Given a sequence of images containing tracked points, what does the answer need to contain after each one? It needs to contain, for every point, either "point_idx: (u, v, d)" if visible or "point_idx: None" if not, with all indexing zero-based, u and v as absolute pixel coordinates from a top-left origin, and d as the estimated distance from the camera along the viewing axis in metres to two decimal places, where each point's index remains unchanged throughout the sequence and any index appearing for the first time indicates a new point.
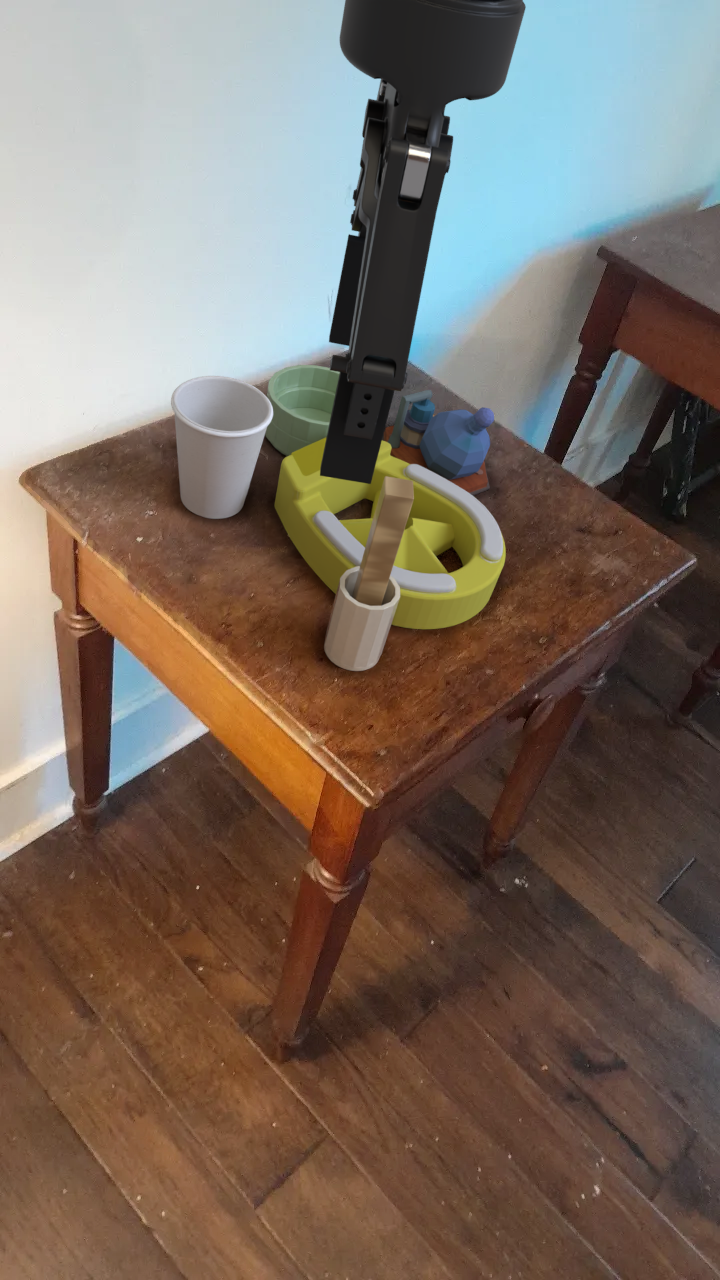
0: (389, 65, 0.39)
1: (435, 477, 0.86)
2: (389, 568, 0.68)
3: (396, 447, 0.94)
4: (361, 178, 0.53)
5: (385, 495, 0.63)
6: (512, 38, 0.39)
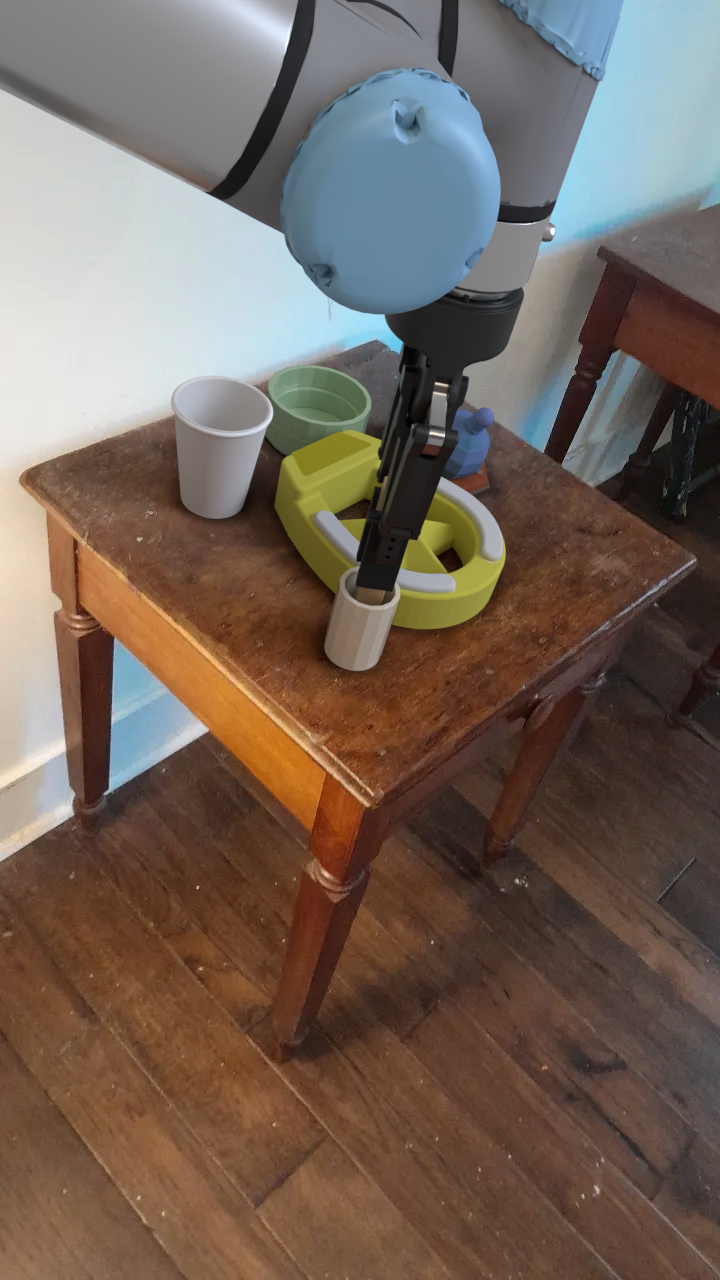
0: (423, 343, 0.52)
1: None
2: None
3: None
4: (387, 430, 0.65)
5: None
6: (514, 319, 0.53)
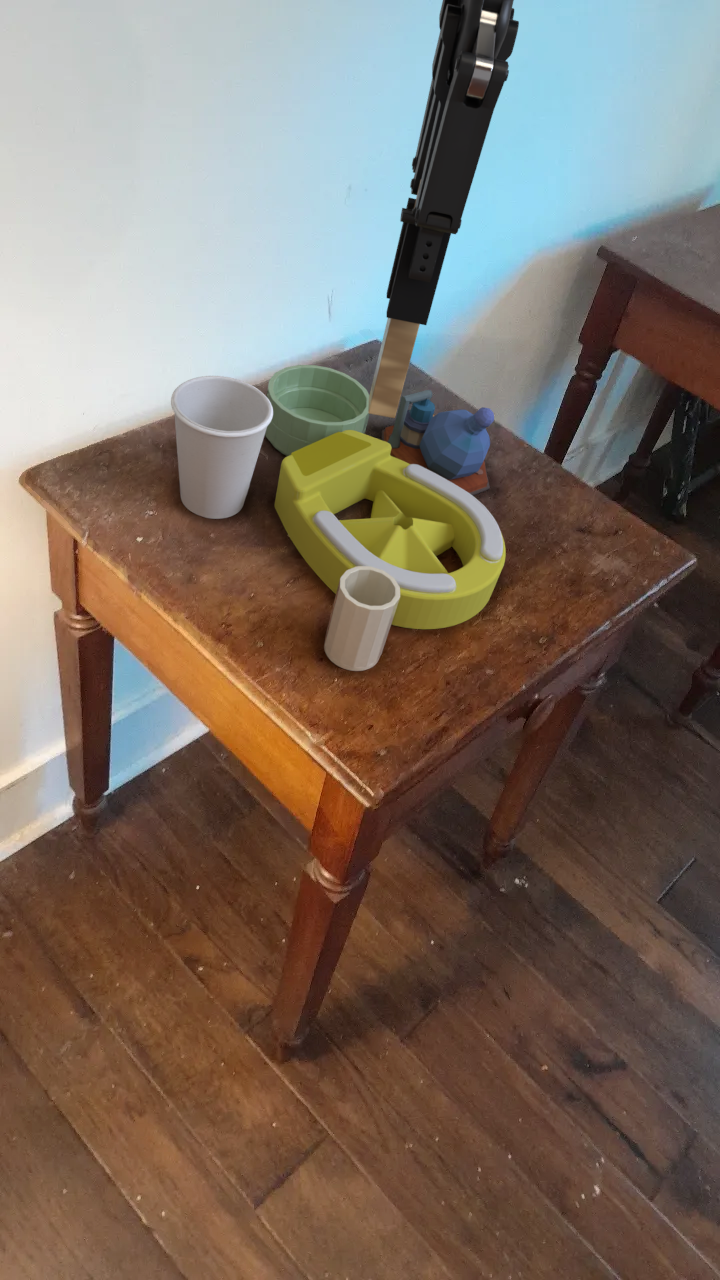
0: None
1: (435, 477, 0.86)
2: None
3: (396, 447, 0.94)
4: (423, 131, 0.59)
5: None
6: None
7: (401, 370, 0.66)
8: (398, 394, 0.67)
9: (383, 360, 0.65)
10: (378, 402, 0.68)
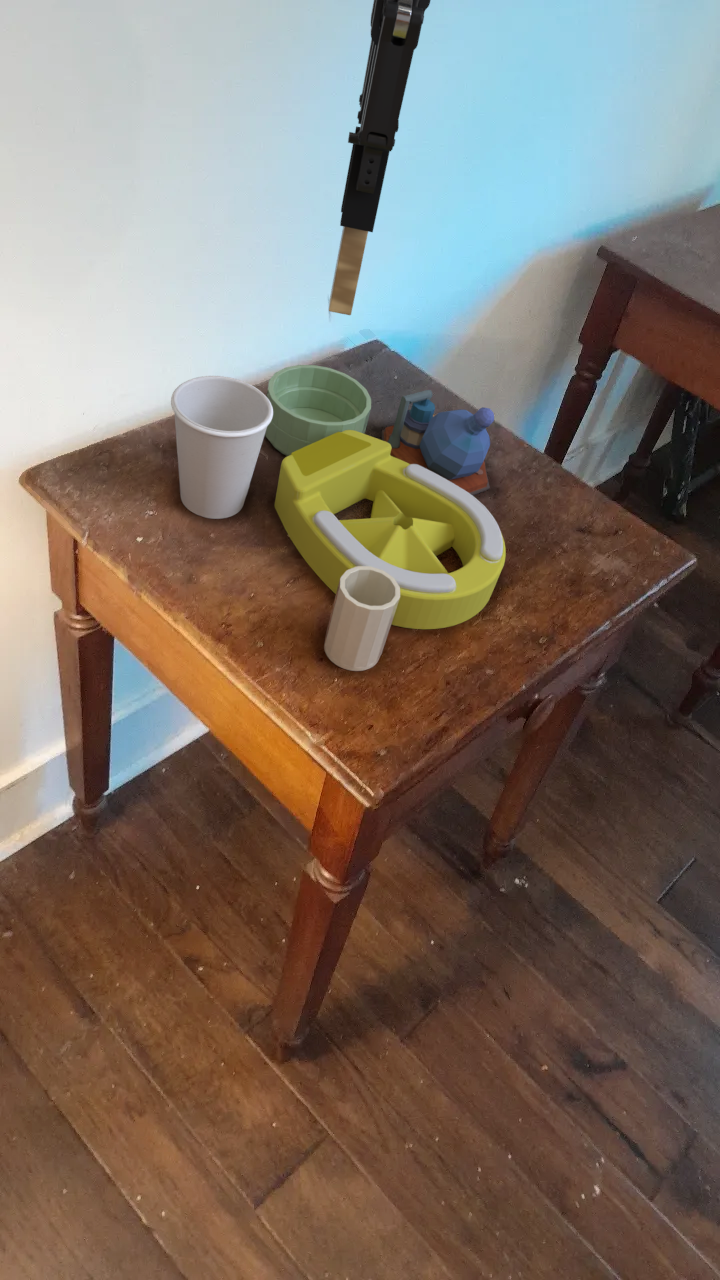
0: None
1: (435, 477, 0.86)
2: None
3: (396, 447, 0.94)
4: (367, 72, 0.74)
5: None
6: None
7: (354, 272, 0.81)
8: (353, 294, 0.82)
9: (339, 264, 0.80)
10: (336, 301, 0.83)
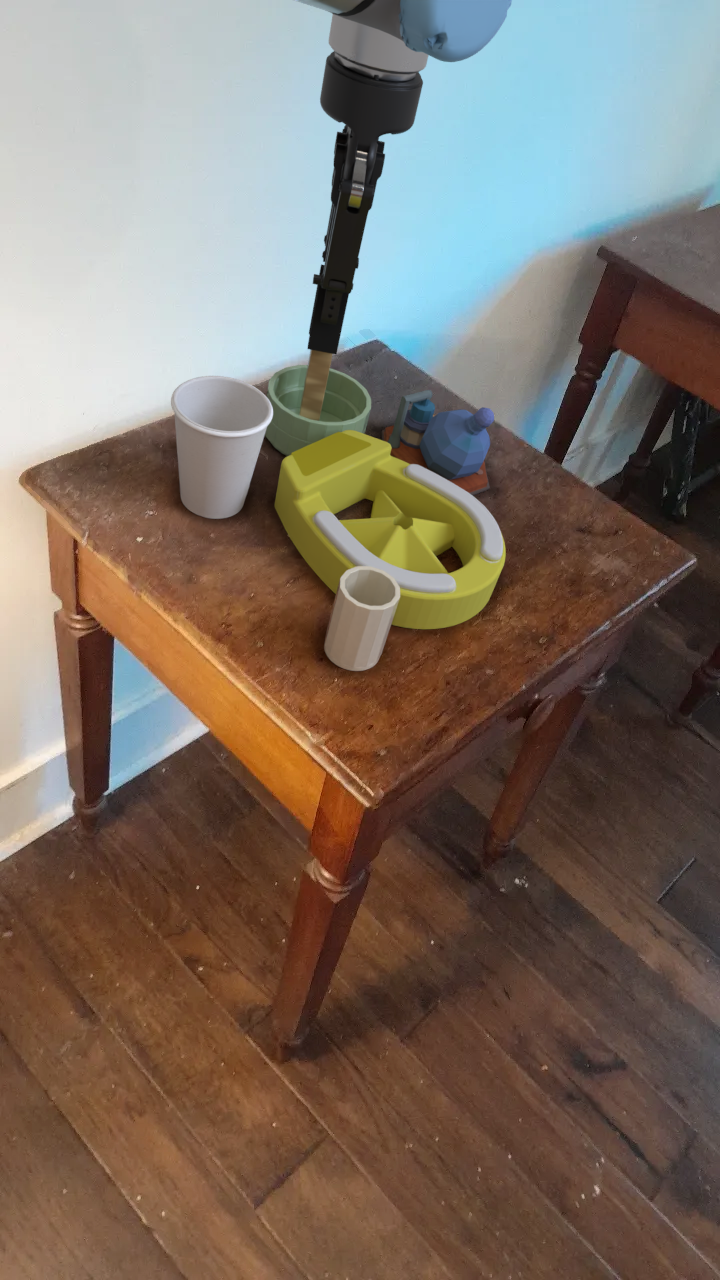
0: (346, 115, 0.71)
1: (435, 477, 0.86)
2: None
3: (396, 447, 0.94)
4: (330, 218, 0.83)
5: None
6: (415, 101, 0.71)
7: (321, 386, 0.90)
8: (320, 403, 0.92)
9: (307, 379, 0.90)
10: (306, 409, 0.92)
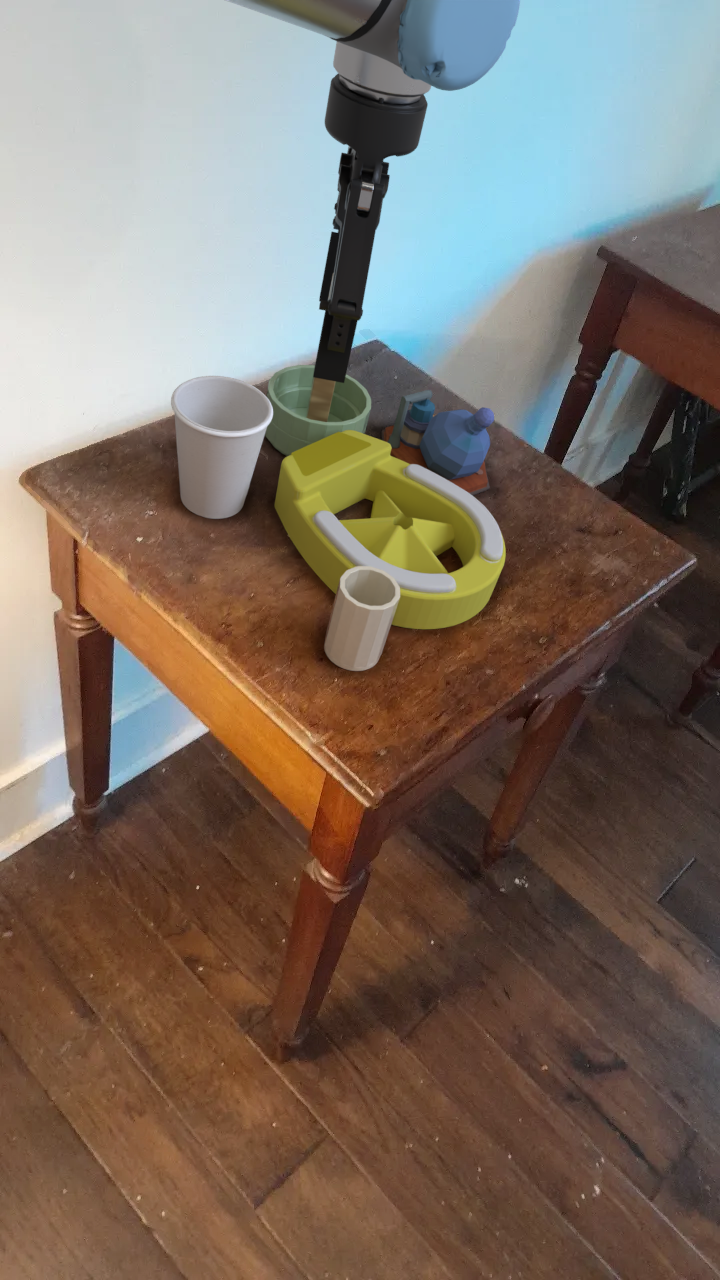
0: (351, 138, 0.71)
1: (435, 477, 0.86)
2: None
3: (396, 447, 0.94)
4: (339, 196, 0.85)
5: None
6: (419, 123, 0.71)
7: (326, 404, 0.90)
8: (325, 421, 0.92)
9: (312, 397, 0.90)
10: None
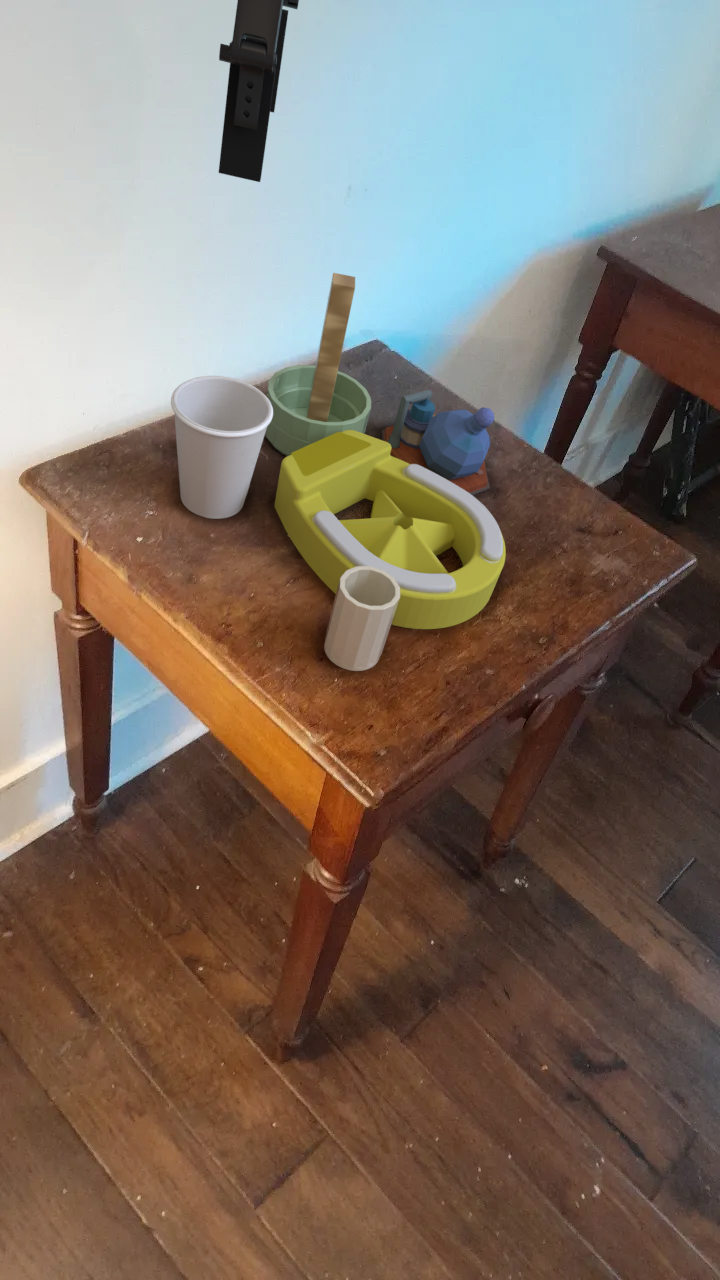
0: None
1: (435, 477, 0.86)
2: (338, 353, 0.86)
3: (396, 447, 0.94)
4: None
5: (332, 284, 0.82)
6: None
7: (326, 404, 0.90)
8: (325, 421, 0.92)
9: (312, 397, 0.90)
10: None
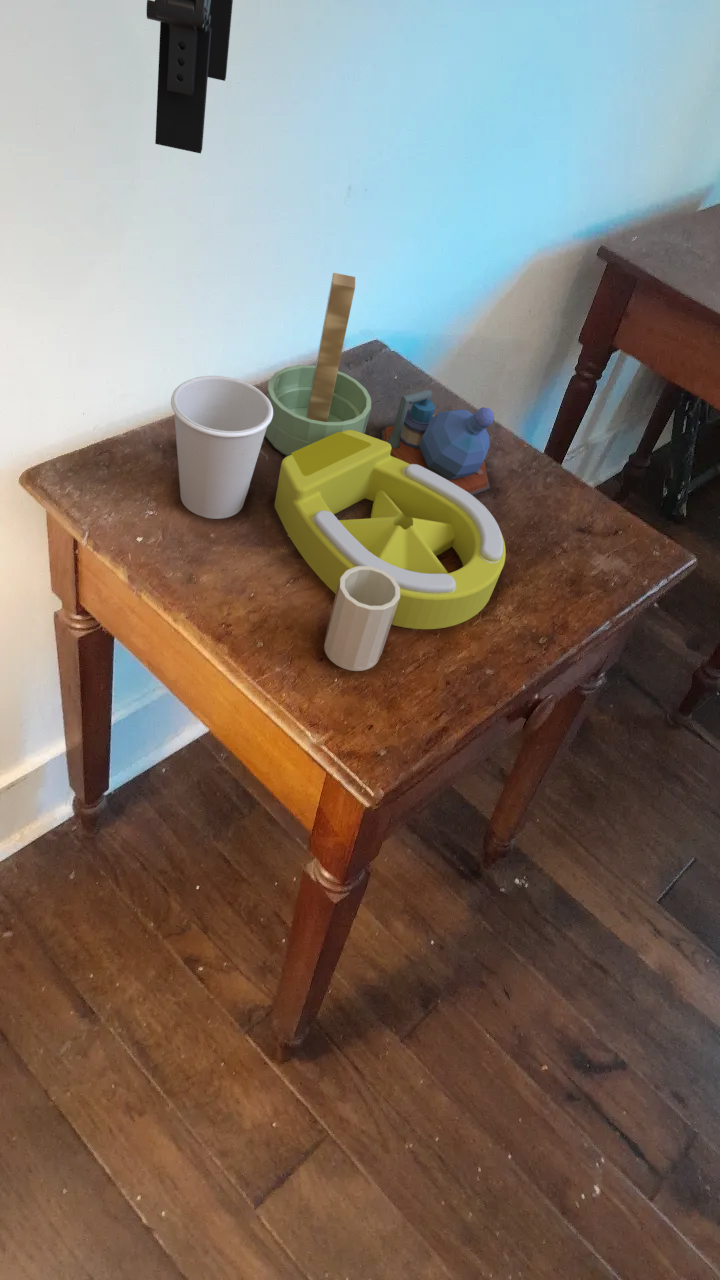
0: None
1: (435, 477, 0.86)
2: (338, 353, 0.86)
3: (396, 447, 0.94)
4: None
5: (332, 284, 0.82)
6: None
7: (326, 404, 0.90)
8: (325, 421, 0.92)
9: (312, 397, 0.90)
10: None
